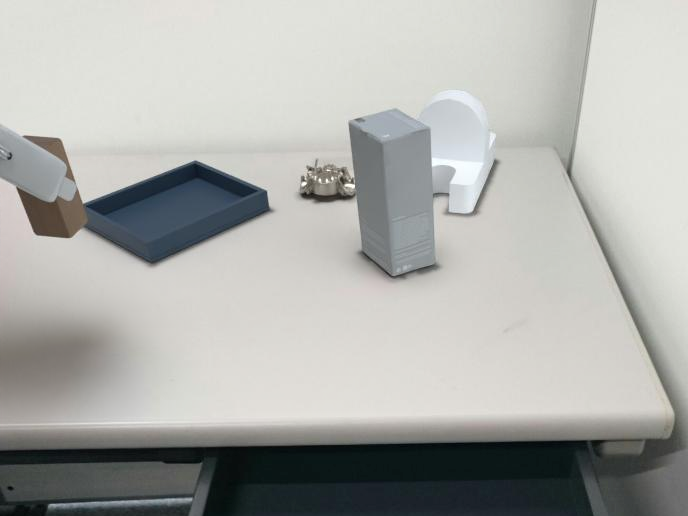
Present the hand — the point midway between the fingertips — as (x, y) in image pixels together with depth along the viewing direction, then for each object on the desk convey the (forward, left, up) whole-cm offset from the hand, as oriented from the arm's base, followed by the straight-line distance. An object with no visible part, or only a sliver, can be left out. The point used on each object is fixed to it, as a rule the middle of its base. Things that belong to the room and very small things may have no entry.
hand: (52, 181), depth 69 cm
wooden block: (0, -1, -5) cm, 5 cm away
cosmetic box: (+14, +33, -16) cm, 39 cm away
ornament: (-6, +41, -16) cm, 44 cm away
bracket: (+5, +55, -16) cm, 58 cm away
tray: (-16, +22, -16) cm, 32 cm away
